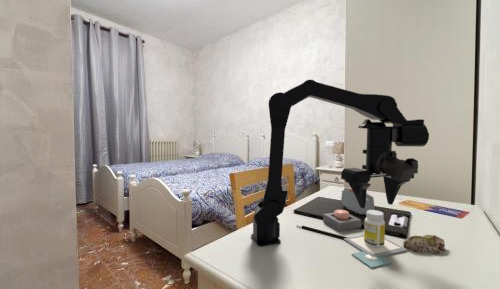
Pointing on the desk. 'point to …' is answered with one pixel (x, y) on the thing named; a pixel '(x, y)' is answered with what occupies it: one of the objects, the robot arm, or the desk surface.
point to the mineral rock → (425, 244)
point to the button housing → (342, 222)
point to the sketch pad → (386, 250)
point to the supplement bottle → (374, 228)
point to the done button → (341, 214)
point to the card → (371, 259)
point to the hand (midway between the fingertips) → (376, 206)
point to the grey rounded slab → (352, 203)
